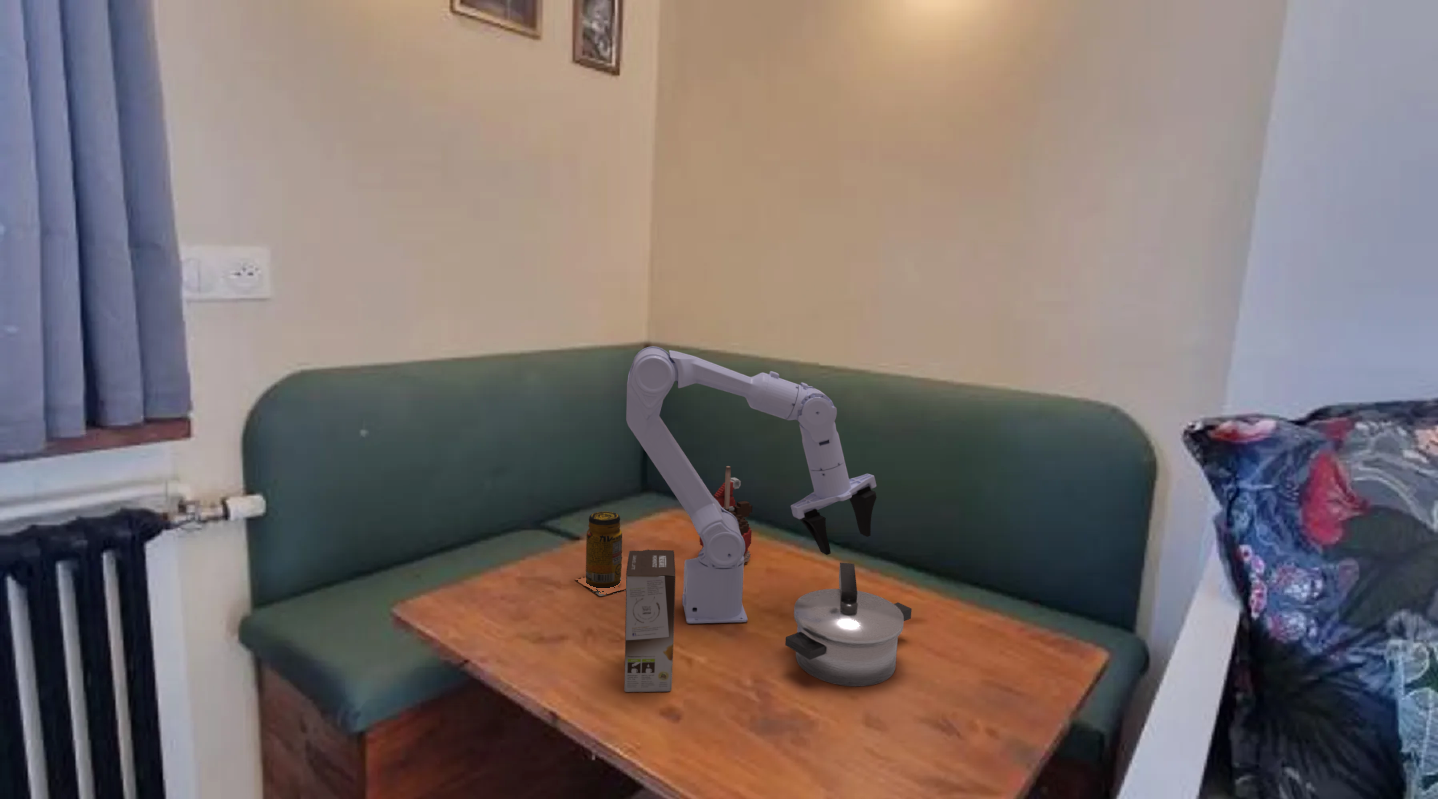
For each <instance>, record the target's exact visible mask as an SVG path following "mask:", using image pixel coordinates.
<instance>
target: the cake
mask: <svg viewBox="0 0 1438 799" xmlns="http://www.w3.org/2000/svg"><path fill="white" fill-rule="evenodd" d="M731 469H732V467H731V466H729V465H727V466H725V476H724V477H725V478H724V482H723V483H722V484H721V486H720V487H719V488H718V490H716V492H715V494H713V497H714V498H715V499H716V500H717V501H718V503H719V504H720V505H721V507H722V508H723V509H725V510H726V511H728V512H730V513H731V514H733V515H734V516H735V517H736V519H737V521H738V524H739V530H740V533H741V536H742V537H743V539H744V542H745V552H744V555H743V556H744V564H745V563H746V562H749V561H750V558H751V553H750V550H749V548H750V546H751V544H752V529H751V528H752V527H750V524H749V521H748V520H746V518H747V517H748V518H749V517H750V514H751V513H753V505H752V504H751V503H750V502H749V501H747V500H743V501H736V500H735V497H734V496H733V495H734V490H736V489H740V487H741V482H742V481H741V480H740V479H738V478H737V477H732V475H731V473H732V472H731V471H732V470H731ZM699 545H700V546H702V548H703V547H704V545H703V541H702V539H701V538H700V537H699ZM702 548H701V549H700V551H699V552H701V550H702Z"/></svg>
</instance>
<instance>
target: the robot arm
mask: <svg viewBox="0 0 1438 799" xmlns="http://www.w3.org/2000/svg"><path fill="white" fill-rule="evenodd" d="M668 351H669V352H668ZM668 351H667V350H665V349H663V348H662V347H659V346H648V347H647V346H646V347H645V348H643V349H641V350H640V351H638V353H636V355H635V356H634V358H633V360H632V364H631V366H630V369H629V371H628V375H627V383H626V412H625V414H626V417H625V419H626V423H627V426H628V428H629V429H630V430H631V433H633V435H634V437H635V438H636V439H637V441H638V442H639V444H640V445H641V447H642V449H643V450H644V451H645V452H646V454H647V456H648V457H649V459H650V460H651V462H652V463H653V465H654V466H655V467H656V469H657V471H658V472H659V474H660V475H661V477H662V478H663V479H664V480H665V482H666V484H667V485H668V487H669V488H670V490H671V491H672V493H673V495H675V498H676V499H677V500H678V501H679V503H680V504H681V506H682V508H683V509H684V511H685V512H686V514H687V515H688V517H689V519H690V520H691V522H692V525H693V526H694V529H695V531H696V533H697V535H698V536H699V539H700V538H701V539H702V541H703V545H704V547H703V548H701V549H700V550H701V552H700V551H698V556H697V557H694V558H689V559H685V560H684V568H683V591H682V592H683V593H682V595H681V596H682V597H681V599H682V601H681V603H682V604H681V605H682V607H683V610H684V616H685V622H686V623H687V624H718V623H719V624H720V623H726V624H727V623H747V622H748V616H747V613H746V611H745V608H744V606H743V593H744V592H743V590H744V588H743V587H744V571H745V570H744V568H745V566H744V565H745V563H744V556H743V555H744V552H745V542H744V539H743V537H742V536H741V533H740V530H739V524H738V521H737V519H736V517H735V516H734V515H733V514H731V513H730V512H728V511H726V510H725V509H723V508H722V507H721V505H720V504H719V503H718V501H717V500H716V499H715V498H714V495H713V494H712V493H711V491H710V490H709V488H708V487H707V485H706V484H705V483H704V481H703V479H702V477H700V475H699V474H698V472H697V470H696V469H695V468H694V466H693V464H692V463H691V462H690V459H689V458H688V456H686V454H685V452H684V451H683V449H682V447H680V445H679V443H678V442H677V440H676V438H674V436H673V434H672V433H671V432H670V430H669V428H668V427H667V425H666V424H665V422H664V420H663V419H662V418H661V416H660V415H661V409H662V407H663V403H664V400H665V398H666V397H667V395H668V394H669V392H670V390H671V389H672V388H673V385H674V383H675V382H676V385H677V388H678V389H681V388H685V387H688V386H691V385H694V384H699V385H702V386H706V387H709V388H713V389H716V390H719V391H724V392H725V393H726V392H727V393H731V394H733V395H737V396H741V397H744V398H745V399H746V401H747V404H748V406H749V407H750V408H751V409H753V410H756V411H759V412H762V413H765V414H767V415H772V416H774V417H777V418H780V419H784V420H786V421H793V420H794V421H797V422H799V425H798V426H799V429H800V434H801V442H802V448H803V451H804V454H805V458H806V463H807V466H808V471H809V475H810V479H811V483H812V484H811V485H812V487H813V488H812V489H813V492H811V493H809V495H806V496H805V497H804V498H802V499H800V500H798V501H797V502H795V503H793V504H791V505H790V508H791V513H792V516H793V517H794V518H796V519H798V520H800V522H801V523H802V524H803V525H804V526H805V528H806V529H807V530H808V532H809V533H810V534H811V536H812V538H813V539H814V541H815V543H816V544H817V547H818V549H819V551H820V552H821V553H822V554H824V555H827V556H828V555H830V554H831V547H830V542H829V538H828V533H827V526H826V525H827V524H826V523H827V522H826V521H827V520H826V518H827V517H825V516H823V515H821V513H820V512H819V511H818V510H820V509H823V508H825V507H827V506H831V505H832V504H834V503H836V502H845V501H846V500H849V501H850V503H851V506H852V509H853V512H854V516H855V520H856V524H857V528H858V531H859V534H860V535H862V536H864V537H866V538H869V537H870V536H871V535H872V534H871V532H872V531H871V529H872V527H871V526H872V515H873V511H874V506H875V504H876V501H877V493H876V491H874V490H872V489H874V488H876V487H877V483H876V482H877V481H876V478H875V475H873V474H870V473H865V474H862V475H859V476H856V477H852V478H849V473H848V469H847V466H846V461H845V457H844V456H845V455H844V452H843V447H842V444H841V440H840V435H839V432H838V431H837V425H836V422H835V421H836V418H837V415H838V411H837V409H838V408H837V407H836V406H835V404H834V402H833V400H832V399H831V398H830V397H828V395H826V394H825V393H824V392H822V391H821V390H820V389H817V388H815V387H814V386H812V385H810V386H809V384H807V383H806V382H800V384H798V383H795V382H792V381H789V380H787V379H783V378H781V377H780V374H779V373H778V372H775V371H772V370H770V371H769V372H768V373H766V372H759V373H757V374H756V375H753V376H748V375H746V374H743V373H741V372H739V371H735V370H732V369H731V368H728V367H724V366H722V365H719V364H716V363H714V362H711V361H708V360H706V359H703V358H700V357H698V356H696V355H691V354H689V353H684V352H680V351H677V350H672V349H671V350H668Z"/></svg>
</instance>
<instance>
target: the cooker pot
mask: <svg viewBox="0 0 1438 799" xmlns="http://www.w3.org/2000/svg"><path fill="white" fill-rule="evenodd" d="M893 604H894V605H896V606H897V607H898V608H899V609H900V610H901V612H902V613H903V616H904V622H905V621H908V620H911V618H912V610H913V609H912V608H911V607H909V606H907V605H905V604H903V603H900V602H895V603H893ZM796 632H797V633H793V634H790V635H787V636H785V644H784V645H785V646H786V647H788V648H789V649H790V650H793V651H794V652H795V659H796V662H797V664H798V666H799V668H801V669H802V670H803V671H805V672H806V673H807V674H808V675H810V676H812V677H813V678H816V679H818V680H820V681H824V682H826V683H830V684H833V685H838V686H845V687H868V686H874V685H878V684H880V683H883V682H885V681H887V680H888V679H890V678H891V677H892V676H893V675H894V673H895V670H896V665H897V664H896V663H897V652H898V639H899V636H898V637H896V638H895V639H893V640H891V641H888V642H885V643H881V644H876V645H866V646H857V645H845V644H839V643H834V642H830V641H826V640H823V639H820V638H818V637H816V636H813V635H811V634H809V633H808V632H806V631H805V630H803V629H802V628H801V627H800V626H799V625H798V624H797V629H796Z"/></svg>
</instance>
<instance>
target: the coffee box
mask: <svg viewBox="0 0 1438 799" xmlns="http://www.w3.org/2000/svg"><path fill="white" fill-rule="evenodd" d="M675 560H676V559H675V550H668V549H645V550H629V552H628V555H627V565H626V573H625V579H626V590H625V624H624V625H625V626H624V627H625V628H624V629H625V631H624V632H625V633H624V639H625V640H624V641H625V642H624V688H623V690H624V692H625V693H635V692H636V693H637V692H639V693H642V692H643V693H645V692H647V693H648V692H649V693H651V692H653V693H654V692H656V693H657V692H671V691H672V684H673V662H674V639H675V638H674V636H675V611H676V610H675V608H676V607H675V606H676V605H675V604H676V602H675V600H676V565H675V564H676V563H675V562H676V561H675Z"/></svg>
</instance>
